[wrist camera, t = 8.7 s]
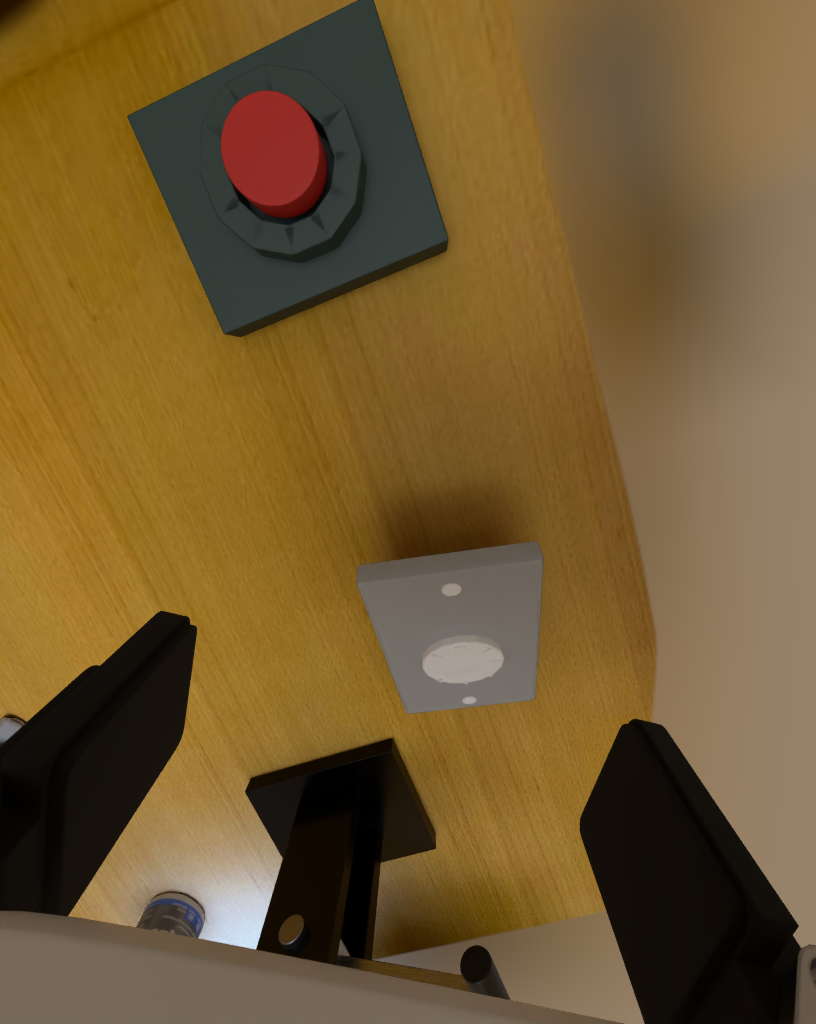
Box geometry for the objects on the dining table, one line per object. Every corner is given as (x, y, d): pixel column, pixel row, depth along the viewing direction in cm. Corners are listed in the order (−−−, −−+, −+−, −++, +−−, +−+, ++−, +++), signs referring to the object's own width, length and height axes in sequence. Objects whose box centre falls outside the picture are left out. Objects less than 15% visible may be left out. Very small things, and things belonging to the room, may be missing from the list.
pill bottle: (217, 911, 39) (163, 1052, 31) (185, 942, 40) (124, 1085, 32) (168, 881, 38) (99, 1017, 30) (136, 912, 40) (62, 1051, 31)
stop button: (305, 95, 20) (294, 71, 19) (341, 197, 21) (335, 182, 20) (220, 136, 21) (203, 115, 19) (260, 233, 22) (246, 222, 20)
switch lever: (495, 934, 22) (486, 1000, 20) (526, 1005, 23) (521, 1074, 21) (286, 907, 27) (261, 958, 25) (321, 967, 28) (300, 1021, 26)
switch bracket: (392, 738, 34) (375, 923, 22) (435, 833, 36) (440, 1046, 25) (250, 778, 35) (167, 971, 24) (300, 867, 37) (246, 1083, 26)
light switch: (406, 729, 31) (353, 600, 21) (403, 646, 36) (358, 506, 26) (539, 714, 31) (550, 574, 21) (520, 632, 35) (521, 483, 25)
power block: (376, 27, 23) (366, -43, 19) (447, 250, 25) (450, 229, 21) (152, 137, 24) (100, 93, 20) (239, 337, 27) (208, 332, 23)
